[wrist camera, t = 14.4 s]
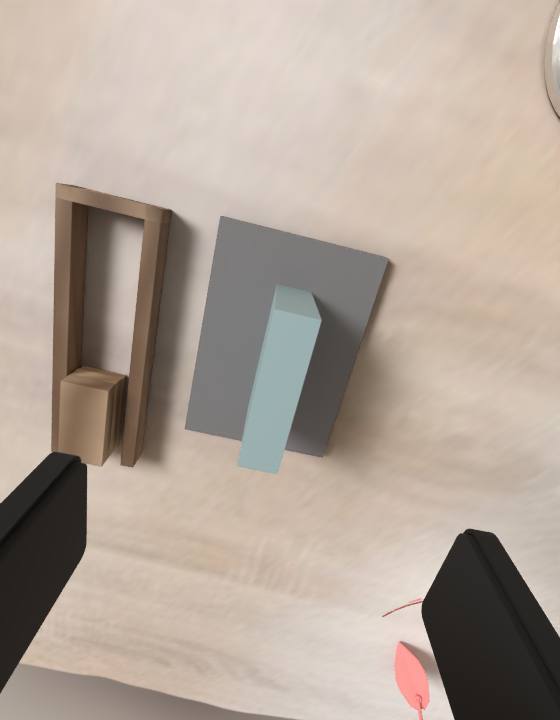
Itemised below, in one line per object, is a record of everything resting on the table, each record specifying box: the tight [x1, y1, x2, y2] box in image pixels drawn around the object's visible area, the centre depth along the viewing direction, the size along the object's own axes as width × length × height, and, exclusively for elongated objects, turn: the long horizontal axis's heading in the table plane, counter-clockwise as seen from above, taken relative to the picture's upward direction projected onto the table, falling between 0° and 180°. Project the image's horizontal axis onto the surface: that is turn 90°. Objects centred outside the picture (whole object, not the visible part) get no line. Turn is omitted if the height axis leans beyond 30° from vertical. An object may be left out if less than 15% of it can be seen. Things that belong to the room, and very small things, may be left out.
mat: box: [185, 216, 389, 457], centre depth 34 cm, size 14×20×1 cm
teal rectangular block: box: [237, 284, 322, 474], centre depth 29 cm, size 3×12×9 cm, turn 167°
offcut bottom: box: [80, 366, 126, 448], centre depth 37 cm, size 4×8×2 cm, turn 166°
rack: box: [51, 183, 171, 467], centre depth 33 cm, size 8×24×2 cm, turn 167°
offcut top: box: [58, 374, 116, 467], centre depth 34 cm, size 4×8×2 cm, turn 166°
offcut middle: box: [71, 368, 122, 456], centre depth 35 cm, size 4×8×2 cm, turn 166°
